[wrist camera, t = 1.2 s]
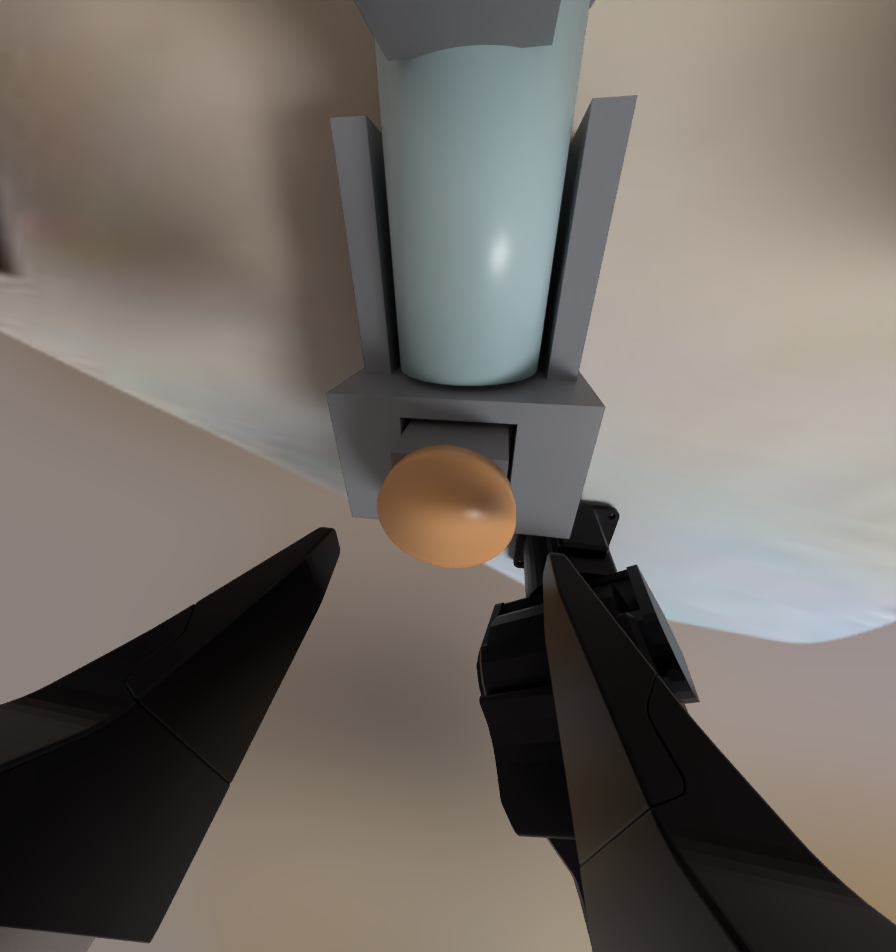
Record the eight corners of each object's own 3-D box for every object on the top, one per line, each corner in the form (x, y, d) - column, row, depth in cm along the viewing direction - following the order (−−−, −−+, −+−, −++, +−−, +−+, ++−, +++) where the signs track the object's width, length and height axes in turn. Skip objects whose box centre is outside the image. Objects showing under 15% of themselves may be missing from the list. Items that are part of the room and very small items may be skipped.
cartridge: (537, 352, 17) (569, 433, 8) (414, 349, 17) (329, 418, 9) (585, 16, 11) (851, -859, 2) (396, 37, 12) (118, -559, 3)
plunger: (508, 506, 15) (508, 574, 11) (411, 497, 15) (384, 559, 12) (520, 411, 12) (524, 463, 9) (404, 405, 13) (368, 451, 10)
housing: (549, 452, 21) (569, 538, 14) (399, 442, 22) (352, 516, 15) (606, 151, 13) (709, 23, 6) (372, 163, 14) (256, 68, 8)
